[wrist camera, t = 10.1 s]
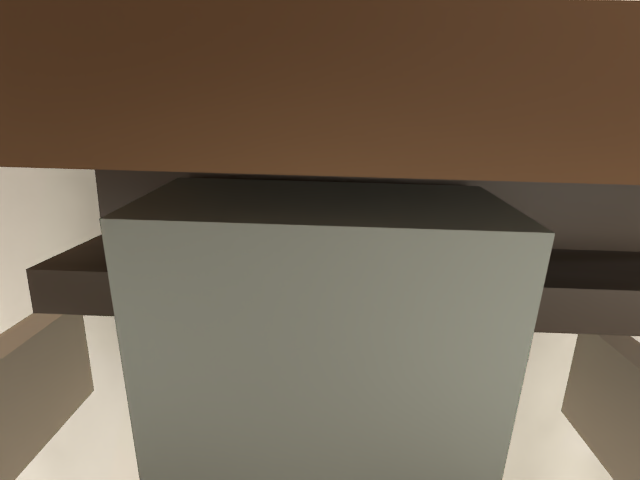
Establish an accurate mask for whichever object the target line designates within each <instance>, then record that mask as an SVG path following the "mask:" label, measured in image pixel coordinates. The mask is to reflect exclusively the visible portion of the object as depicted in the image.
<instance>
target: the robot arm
mask: <svg viewBox="0 0 640 480" xmlns="http://www.w3.org/2000/svg"><path fill="white" fill-rule="evenodd" d="M93 391H94V387H93V380H92V374H91V367H90V360H89V354H88V347H87V340H86V334H85V327H84V320H83V315H68V314H42V313H33V314H31V315H29V316H28V317H26V318H25V319H23V320H22V321H20V322H19V323H17V324H16V325H14V326H12V327H11V328H9V329H8V330H6V331H5V332H3V333H2V334H0V480H15V479H16V478H17V477H18V476H19V474H20V473H21V472H22V471H23V470H24V469H25V468H26V467H27V465H28V464H29V463H30V462H31V461H32V460H33V459H34V458H35V456H36V455H37V454H38V453H39V452H40V451H41V450H42V448H43V447H44V446H45V445H46V444H47V443H48V442H49V441H50V439H51V438H52V437H53V436H54V435H55V434H56V433H57V432H58V430H59V429H60V428H61V427H62V426H63V425H64V424H65V422H66V421H67V420H68V419H69V418H70V417H71V416H72V415H73V413H74V412H75V411H76V410H77V409H78V408H79V407H80V406H81V404H82V403H83V402H84V401H85V400H86V399H87V398H88V396H89V395H90V394H91V393H92V392H93ZM561 411H562V413H563V414H564V415H565V417H566V418H567V419H568V421H569V422H570V423H571V424H572V426H573V427H574V428H575V430H576V431H577V432H578V434H579V435H580V436H581V438H582V439H583V440H584V441H585V443H586V444H587V445H588V447H589V448H590V449H591V451H592V452H593V453H594V455H595V456H596V457H597V458H598V460H599V461H600V462H601V464H602V465H603V466H604V468H605V469H606V470H607V472H608V473H609V474H610V475H611V477H612V478H613V479H614V480H640V343H639V342H638V341H636V340H635V339H634V338H632V337H631V336H625V335H598V334H578V337H577V341H576V346H575V350H574V355H573V360H572V364H571V369H570V373H569V378H568V382H567V387H566V391H565V396H564V400H563V405H562V409H561Z"/></svg>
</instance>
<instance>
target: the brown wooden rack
mask: <svg viewBox="0 0 640 480" xmlns="http://www.w3.org/2000/svg"><path fill="white" fill-rule="evenodd" d="M0 167H29V168H63V169H95V175H96V183H97V192H98V201H99V210H100V218H102V217H104V216H106V215H107V214H109V213H111V212H113V211H115V210H117V209H119V208H121V207H123V206H125V205H127V204H129V203H131V202H132V201H134V200H136V199H138V198H140V197H142V196H144V195H146V194H148V193H150V192H152V191H154V190H156V189H157V188H159V187H161V186H163V185H165V184H167V183H169V182H171V181H173V180H175V179H177V178H179V177H182V178H217V179H251V180H286V181H320V182H355V183H389V184H424V185H458V186H480V187H482V188H484V189H485V190H487V191H488V192H490V193H492V194H493V195H495V196H496V197H498V198H500V199H501V200H503V201H504V202H506V203H508V204H509V205H511V206H512V207H514V208H516V209H517V210H519V211H520V212H522V213H524V214H525V215H527V216H529V217H530V218H532V219H533V220H535V221H537V222H538V223H540V224H541V225H543V226H545V227H546V228H548V229H549V230H551V231H553V232H554V233H555V236H554V241H553V246H552V250H551V255H550V260H549V264H548V269H547V273H546V278H545V283H544V287H543V292H542V297H541V301H540V306H539V310H538V315H537V320H536V324H535V329H534V332H545V333H572V334H598V335H625V336H640V1H621V0H0ZM26 272H27V278H28V284H29V290H30V296H31V302H32V308H33V313H42V314H68V315H95V316H114V310H113V304H112V297H111V291H110V284H109V278H108V271H107V265H106V258H105V252H104V245H103V239H102V235H99V236H97V237H95V238H93V239H91V240H89V241H86V242H84V243H82V244H80V245H78V246H76V247H73V248H71V249H69V250H67V251H65V252H63V253H61V254H58V255H56V256H54V257H52V258H50V259H48V260H45V261H43V262H41V263H39V264H37V265H35V266H32V267H30V268H28V269H26Z"/></svg>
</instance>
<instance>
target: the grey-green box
mask: <svg viewBox="0 0 640 480" xmlns="http://www.w3.org/2000/svg"><path fill="white" fill-rule="evenodd" d="M99 220H100V226H101V232H102V239H103V245H104V252H105V258H106V265H107V271H108V278H109V284H110V291H111V297H112V304H113V310H114V316H115V323H116V329H117V336H118V342H119V349H120V355H121V362H122V368H123V375H124V381H125V388H126V394H127V400H128V407H129V413H130V420H131V426H132V433H133V439H134V446H135V452H136V459H137V465H138V472H139V478H140V480H502V477H503V473H504V468H505V463H506V459H507V454H508V449H509V445H510V440H511V436H512V431H513V426H514V422H515V417H516V412H517V408H518V403H519V399H520V394H521V389H522V385H523V380H524V375H525V371H526V366H527V361H528V357H529V352H530V348H531V343H532V338H533V334H534V329H535V324H536V320H537V315H538V310H539V306H540V301H541V297H542V292H543V287H544V283H545V278H546V273H547V269H548V264H549V260H550V255H551V250H552V246H553V241H554V236H555V233H554V232H553V231H551V230H549V229H548V228H546V227H545V226H543V225H541V224H540V223H538V222H537V221H535V220H533V219H532V218H530V217H529V216H527V215H525V214H524V213H522V212H520V211H519V210H517V209H516V208H514V207H512V206H511V205H509V204H508V203H506V202H504V201H503V200H501V199H500V198H498V197H496V196H495V195H493V194H492V193H490V192H488V191H487V190H485V189H484V188H482V187H480V186H458V185H424V184H389V183H355V182H320V181H286V180H251V179H217V178H182V177H179V178H177V179H175V180H173V181H171V182H169V183H167V184H165V185H163V186H161V187H159V188H157V189H156V190H154V191H152V192H150V193H148V194H146V195H144V196H142V197H140V198H138V199H136V200H134V201H132V202H131V203H129V204H127V205H125V206H123V207H121V208H119V209H117V210H115V211H113V212H111V213H109V214H107V215H106V216H104V217H102V218H100V219H99Z"/></svg>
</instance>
